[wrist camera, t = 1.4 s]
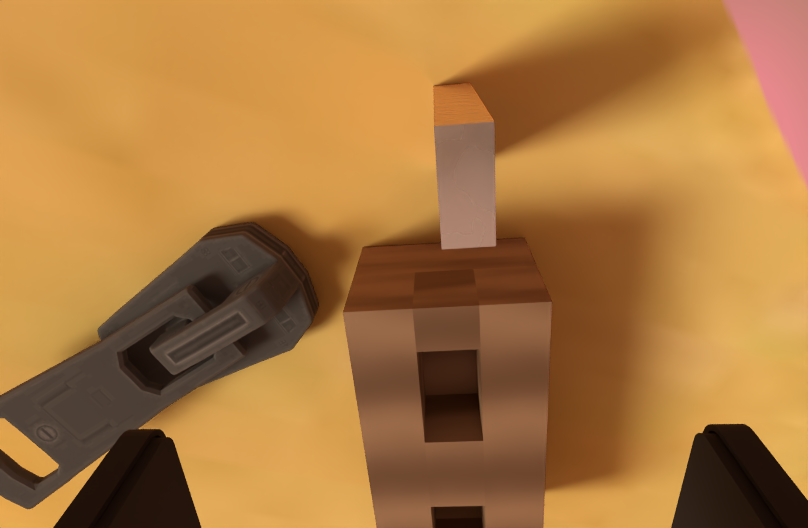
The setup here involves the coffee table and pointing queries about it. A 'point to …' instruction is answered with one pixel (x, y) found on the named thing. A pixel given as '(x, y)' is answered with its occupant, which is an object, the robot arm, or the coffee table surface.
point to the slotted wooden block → (452, 383)
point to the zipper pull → (161, 352)
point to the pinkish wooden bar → (464, 167)
